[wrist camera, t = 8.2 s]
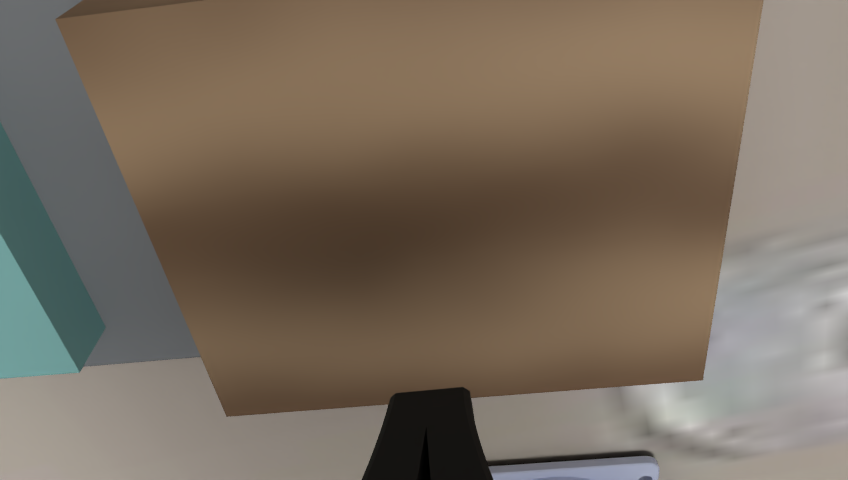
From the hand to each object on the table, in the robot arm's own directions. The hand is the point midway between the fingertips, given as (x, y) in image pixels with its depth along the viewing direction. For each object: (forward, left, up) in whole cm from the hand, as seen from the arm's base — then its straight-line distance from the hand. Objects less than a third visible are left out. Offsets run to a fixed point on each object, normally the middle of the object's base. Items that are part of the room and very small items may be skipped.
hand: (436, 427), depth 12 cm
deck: (+1, 0, -9) cm, 9 cm away
